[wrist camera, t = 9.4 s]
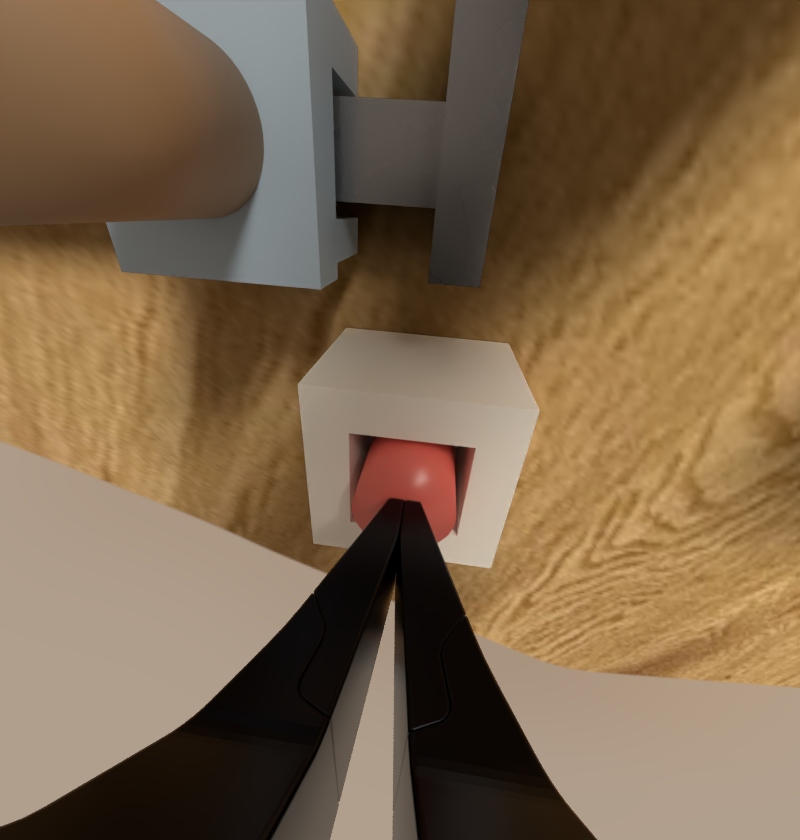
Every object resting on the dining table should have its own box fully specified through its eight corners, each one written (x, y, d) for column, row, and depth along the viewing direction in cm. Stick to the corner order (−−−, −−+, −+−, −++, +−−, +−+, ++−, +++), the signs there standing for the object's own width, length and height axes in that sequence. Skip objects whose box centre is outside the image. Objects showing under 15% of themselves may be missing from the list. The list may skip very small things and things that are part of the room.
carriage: (357, 24, 9) (-261, -1256, 1) (357, 266, 12) (186, 374, 4) (167, 16, 9) (-1319, -1006, 1) (214, 254, 12) (-197, 332, 4)
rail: (502, 52, 9) (537, -46, 6) (470, 264, 12) (479, 287, 8) (-260, 19, 10) (-601, -72, 7) (-137, 214, 13) (-343, 216, 10)
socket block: (508, 343, 13) (539, 410, 8) (479, 471, 16) (490, 568, 12) (346, 327, 13) (297, 384, 9) (348, 455, 16) (313, 543, 12)
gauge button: (459, 402, 12) (464, 480, 9) (448, 467, 13) (448, 555, 10) (378, 394, 12) (351, 466, 9) (376, 458, 14) (352, 541, 10)
